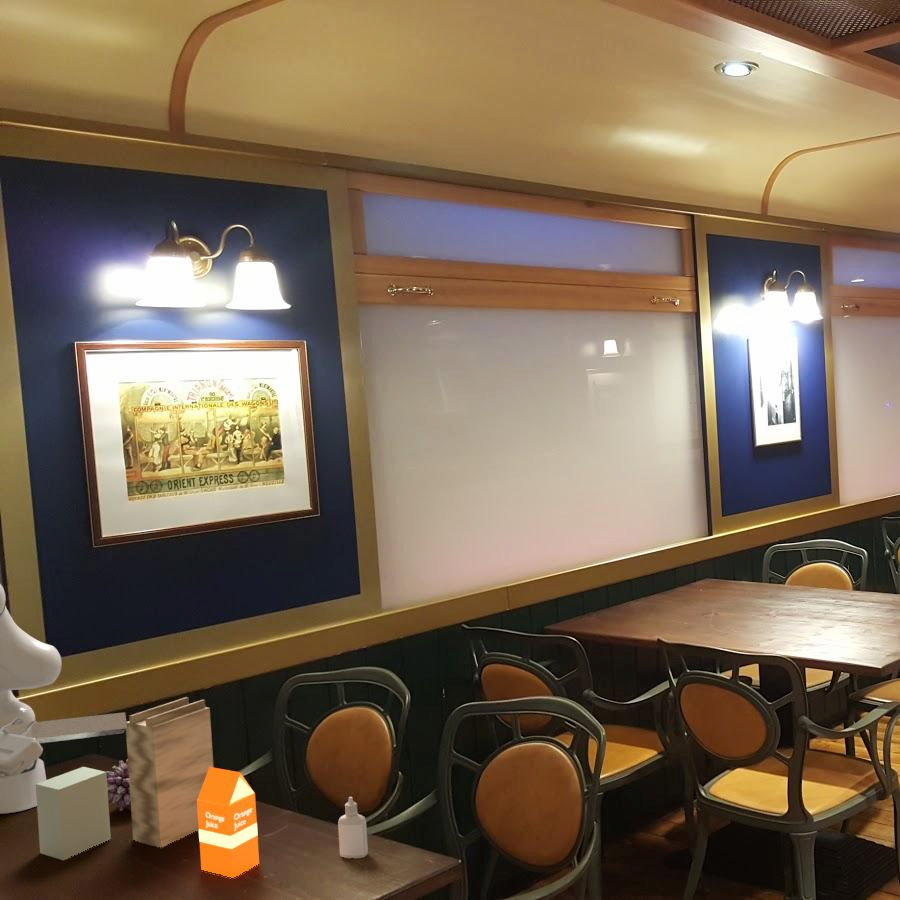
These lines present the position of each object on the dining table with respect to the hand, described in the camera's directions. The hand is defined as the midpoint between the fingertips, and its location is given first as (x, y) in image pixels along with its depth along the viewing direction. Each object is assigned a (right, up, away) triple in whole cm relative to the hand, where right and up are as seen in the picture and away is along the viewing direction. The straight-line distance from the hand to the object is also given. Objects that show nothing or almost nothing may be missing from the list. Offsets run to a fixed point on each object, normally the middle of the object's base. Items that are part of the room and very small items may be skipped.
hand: (29, 721), depth 218 cm
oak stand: (+27, -28, +14) cm, 41 cm away
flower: (+12, -28, +29) cm, 42 cm away
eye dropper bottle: (+68, -26, -5) cm, 73 cm away
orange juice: (+43, -28, -7) cm, 52 cm away
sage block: (+7, -29, +8) cm, 31 cm away
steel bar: (+7, -4, +3) cm, 8 cm away
